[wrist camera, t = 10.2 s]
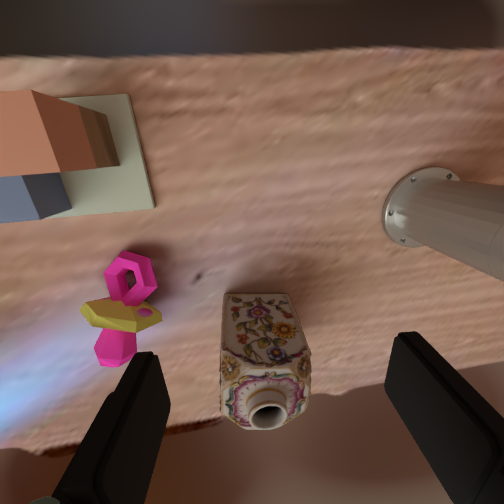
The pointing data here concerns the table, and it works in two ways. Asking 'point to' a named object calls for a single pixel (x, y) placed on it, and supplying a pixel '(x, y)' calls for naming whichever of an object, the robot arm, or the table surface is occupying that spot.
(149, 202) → the board
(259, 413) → the decorative jar
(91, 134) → the walnut block
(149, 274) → the toy
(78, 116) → the terracotta block
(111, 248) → the table surface
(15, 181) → the blue-gray block
